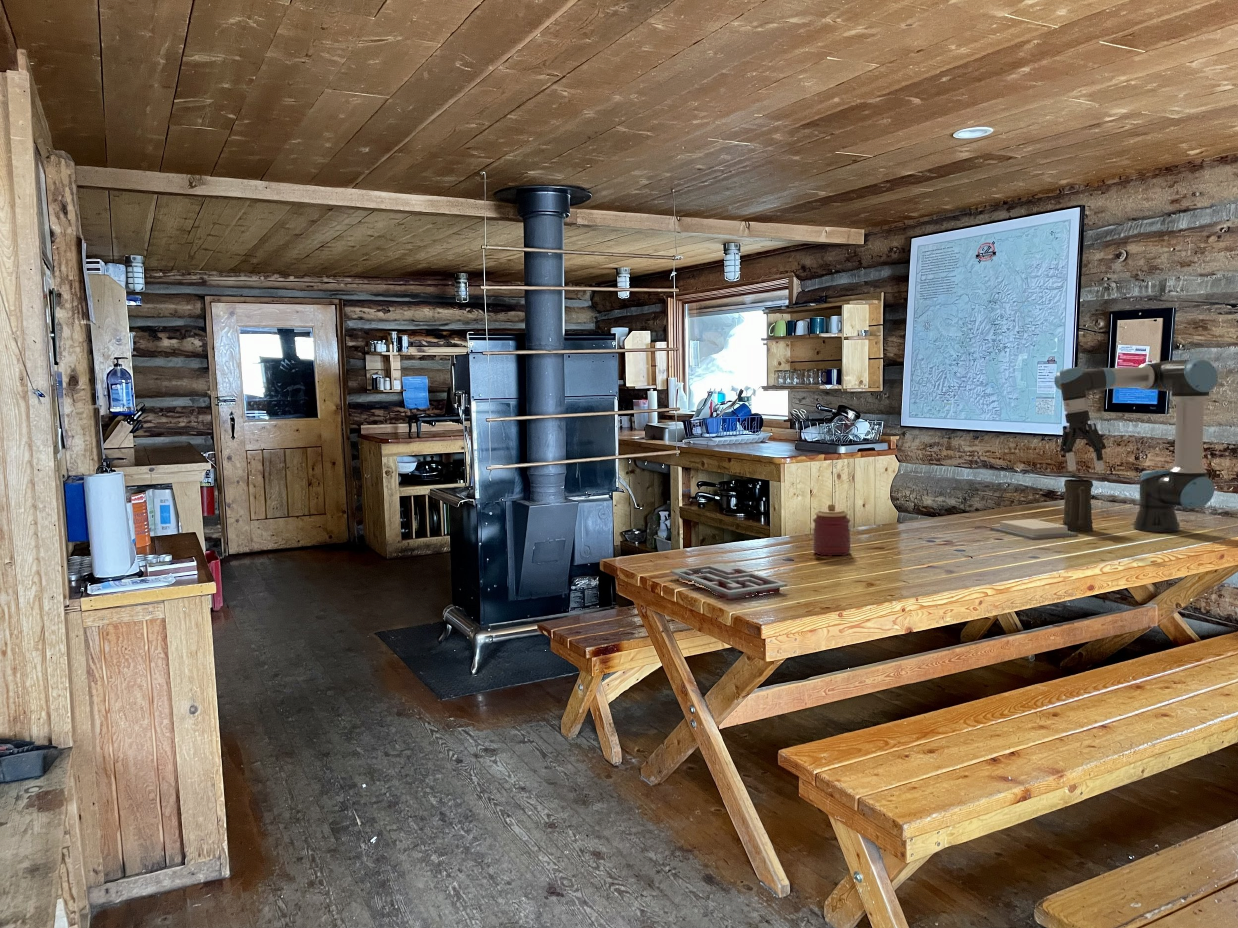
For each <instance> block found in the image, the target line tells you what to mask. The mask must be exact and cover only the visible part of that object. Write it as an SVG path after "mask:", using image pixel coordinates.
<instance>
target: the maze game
mask: <svg viewBox="0 0 1238 928" xmlns="http://www.w3.org/2000/svg"><path fill="white" fill-rule="evenodd" d="M669 572H670V574H673V575H675V576H678V579H679V578H681V579H683V580H686V581H688V582H692V581H694V583H697V584H699V585H702V586H704V587H706V588H708V589H710V590H711V592H713V593H715V594H717V595H719V596H721V597H720V598H722V597H723V598H722V599H725V598H726V599H725V600H727V599H728V601H733V600H732V599H735V600H739V599H738V598H741V599H743V598H742V597H746V596H752V595H756V593H757V594H763V593H770V592H779V591H780V592H781V588H786V587H788V583H787V582H783V581H780V580H777V579H773V578H771V577H768V576H764V575H761V574H758V573H755V572H752V571H749V570H746V569H742V568H740V567H736V566H733V565H731V564H727V563H722V562H721V563H716V564H715V563H714V564H707V565H700V566H699V565H698V566H693V567H684V568H676V569H670V571H669ZM699 573H701V575H693V574H699ZM711 592H710V593H711ZM717 595H716V596H717ZM719 596H718V597H719ZM756 596H757V595H756Z"/></svg>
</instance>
